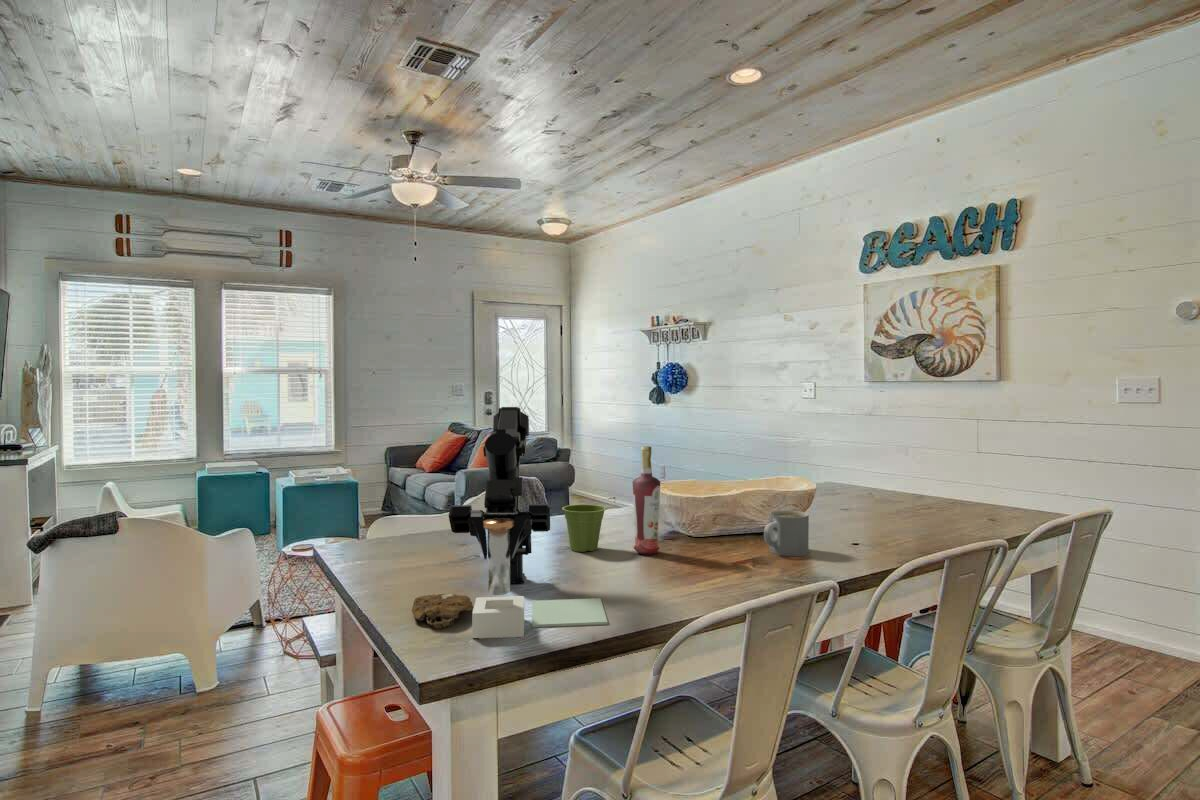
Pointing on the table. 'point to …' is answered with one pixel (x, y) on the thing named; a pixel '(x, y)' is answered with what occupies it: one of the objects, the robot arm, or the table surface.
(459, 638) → the table surface
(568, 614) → the sage mat
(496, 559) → the glass jar with lid
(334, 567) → the table surface
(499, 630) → the collar
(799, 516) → the coffee mug
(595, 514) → the plant pot
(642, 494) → the liquor
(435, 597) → the decorative rock
